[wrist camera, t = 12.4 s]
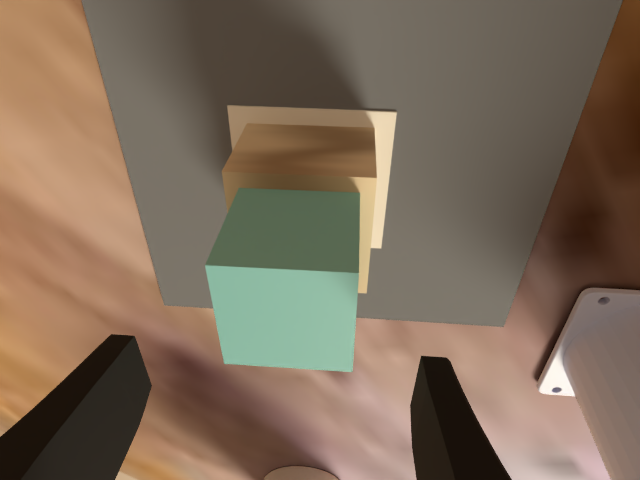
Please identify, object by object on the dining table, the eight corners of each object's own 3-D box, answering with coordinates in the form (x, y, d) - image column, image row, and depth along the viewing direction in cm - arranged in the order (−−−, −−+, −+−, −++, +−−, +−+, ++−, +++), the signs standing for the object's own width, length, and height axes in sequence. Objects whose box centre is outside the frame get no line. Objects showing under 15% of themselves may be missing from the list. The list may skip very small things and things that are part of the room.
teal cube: (360, 192, 15) (359, 273, 12) (354, 284, 17) (352, 371, 14) (238, 187, 15) (204, 265, 12) (249, 278, 17) (224, 363, 14)
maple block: (374, 127, 18) (377, 178, 14) (366, 232, 21) (366, 293, 17) (247, 123, 18) (221, 171, 15) (257, 227, 21) (237, 286, 18)
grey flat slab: (658, -111, 13) (665, -111, 13) (502, 322, 24) (504, 328, 24) (55, -118, 14) (48, -118, 14) (166, 301, 25) (163, 306, 25)
